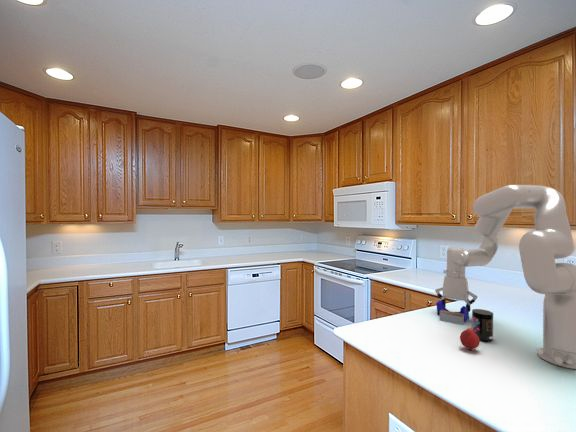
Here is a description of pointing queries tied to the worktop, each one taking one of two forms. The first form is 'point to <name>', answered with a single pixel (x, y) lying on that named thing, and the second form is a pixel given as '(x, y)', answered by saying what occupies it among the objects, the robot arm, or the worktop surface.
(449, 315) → the end stop block
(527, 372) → the worktop surface
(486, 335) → the supplement container
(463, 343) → the onion
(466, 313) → the cable clip
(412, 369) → the worktop surface
